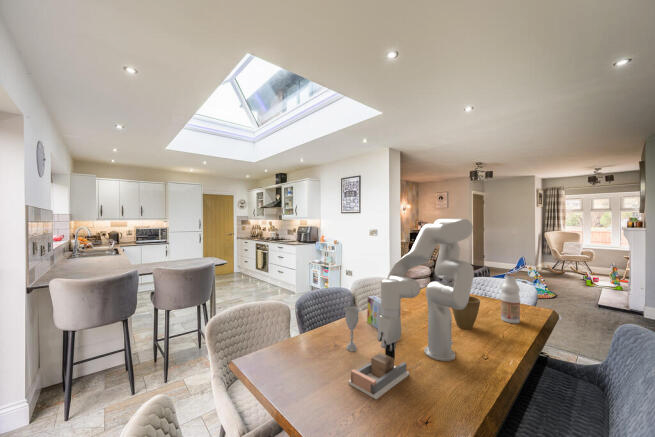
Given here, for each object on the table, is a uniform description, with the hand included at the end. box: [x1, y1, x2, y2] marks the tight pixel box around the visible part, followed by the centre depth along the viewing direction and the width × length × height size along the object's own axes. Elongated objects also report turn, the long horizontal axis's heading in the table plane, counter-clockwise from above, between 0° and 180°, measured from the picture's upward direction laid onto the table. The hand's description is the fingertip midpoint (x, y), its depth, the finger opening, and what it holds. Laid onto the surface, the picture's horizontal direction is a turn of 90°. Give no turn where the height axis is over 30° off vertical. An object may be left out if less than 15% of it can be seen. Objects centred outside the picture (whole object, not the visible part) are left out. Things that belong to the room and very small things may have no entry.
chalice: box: [344, 306, 361, 352], centre depth 125 cm, size 7×7×18 cm
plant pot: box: [451, 296, 481, 330], centre depth 153 cm, size 15×15×16 cm
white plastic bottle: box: [500, 272, 521, 324], centre depth 163 cm, size 9×9×28 cm
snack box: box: [366, 295, 381, 330], centre depth 150 cm, size 21×6×15 cm, turn 22°
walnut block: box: [370, 352, 395, 378], centre depth 102 cm, size 6×6×6 cm
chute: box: [347, 361, 410, 400], centre depth 101 cm, size 21×12×5 cm, turn 134°
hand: (389, 359), depth 106 cm, fingers closed
